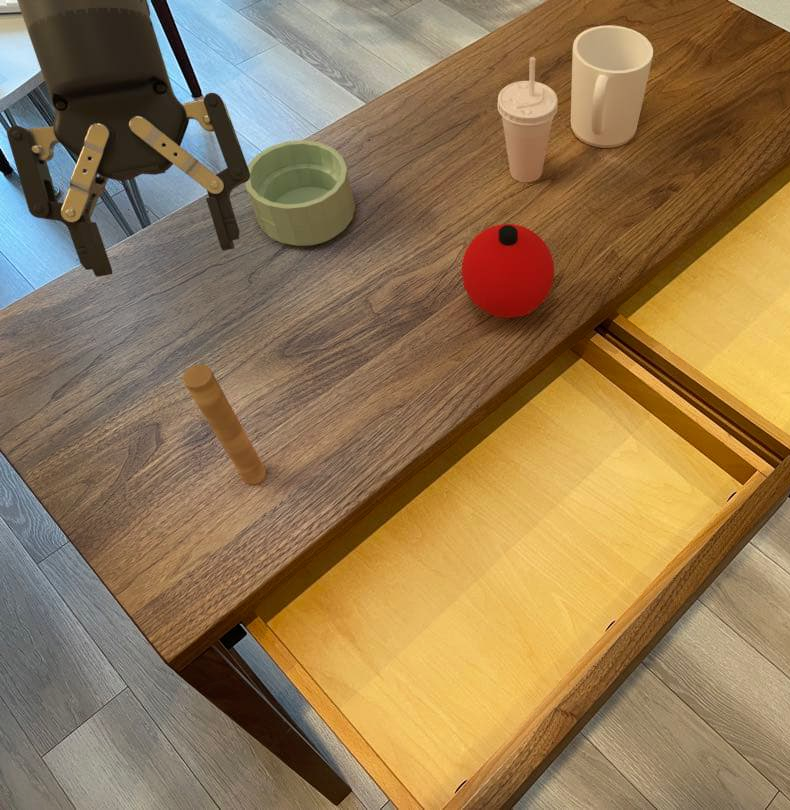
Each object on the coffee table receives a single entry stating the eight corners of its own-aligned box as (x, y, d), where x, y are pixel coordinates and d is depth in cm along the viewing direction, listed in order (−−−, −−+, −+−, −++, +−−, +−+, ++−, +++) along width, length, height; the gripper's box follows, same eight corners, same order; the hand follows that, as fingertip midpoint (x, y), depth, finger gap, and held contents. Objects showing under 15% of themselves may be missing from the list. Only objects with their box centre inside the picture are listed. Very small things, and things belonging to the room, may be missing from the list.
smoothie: (565, 171, 90) (573, 61, 78) (526, 198, 88) (530, 89, 76) (524, 145, 92) (527, 34, 81) (486, 171, 90) (483, 60, 78)
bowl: (267, 260, 81) (252, 217, 76) (253, 194, 86) (237, 150, 81) (364, 239, 83) (355, 196, 78) (345, 176, 89) (335, 132, 83)
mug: (576, 97, 98) (583, 19, 89) (646, 112, 97) (660, 34, 88) (553, 153, 92) (559, 74, 83) (627, 169, 91) (640, 91, 82)
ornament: (566, 287, 81) (573, 215, 72) (527, 349, 76) (530, 280, 68) (489, 257, 83) (487, 183, 74) (447, 316, 78) (440, 244, 70)
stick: (244, 487, 67) (183, 390, 54) (241, 468, 68) (180, 368, 55) (267, 481, 67) (213, 383, 55) (264, 461, 68) (210, 361, 56)
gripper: (-54, 22, 47) (43, 287, 51) (191, -13, 50) (264, 240, 54) (-4, 53, 54) (78, 283, 58) (207, 21, 57) (272, 242, 61)
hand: (167, 262), depth 56 cm, fingers open, 8 cm apart
